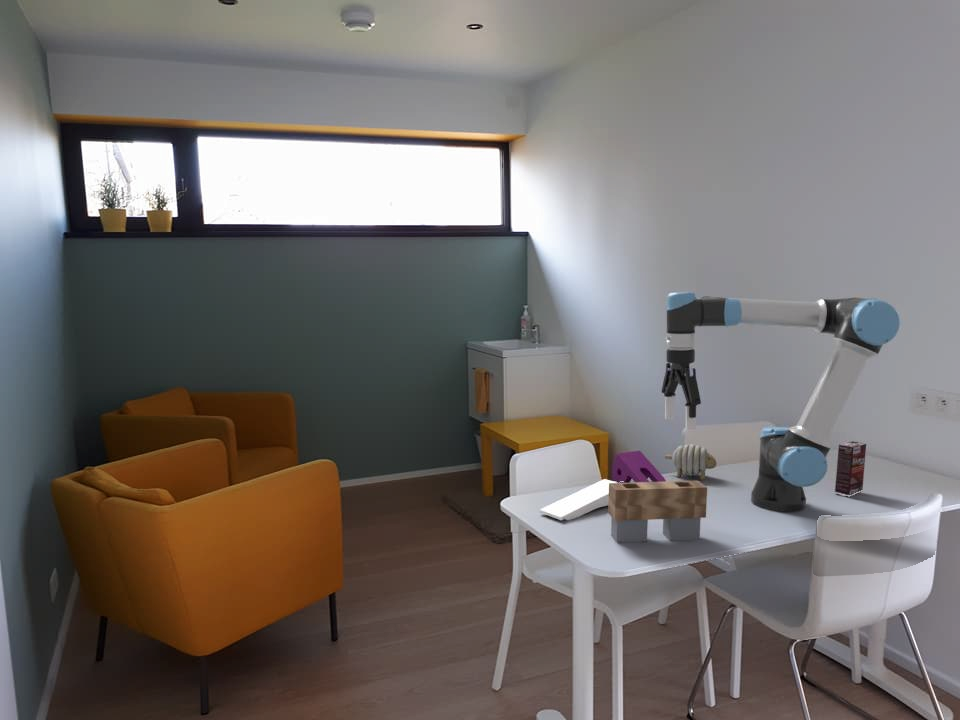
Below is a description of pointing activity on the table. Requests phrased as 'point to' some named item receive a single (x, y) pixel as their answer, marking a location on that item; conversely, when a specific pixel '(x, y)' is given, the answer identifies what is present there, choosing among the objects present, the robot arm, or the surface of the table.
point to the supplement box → (850, 468)
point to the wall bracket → (580, 502)
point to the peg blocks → (671, 529)
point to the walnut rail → (657, 500)
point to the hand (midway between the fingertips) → (680, 424)
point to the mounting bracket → (634, 468)
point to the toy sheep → (692, 460)
